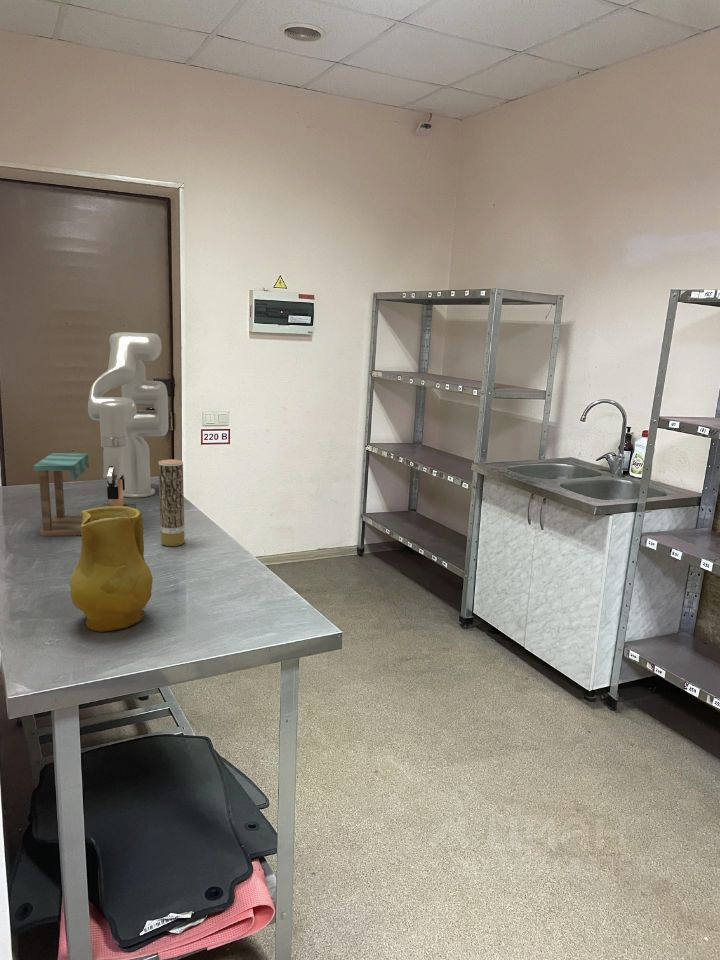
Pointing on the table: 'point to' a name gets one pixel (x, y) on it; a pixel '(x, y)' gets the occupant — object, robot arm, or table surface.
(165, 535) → the paper tube
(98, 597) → the pitcher
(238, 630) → the table surface
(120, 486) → the peg
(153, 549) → the table surface
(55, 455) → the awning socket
